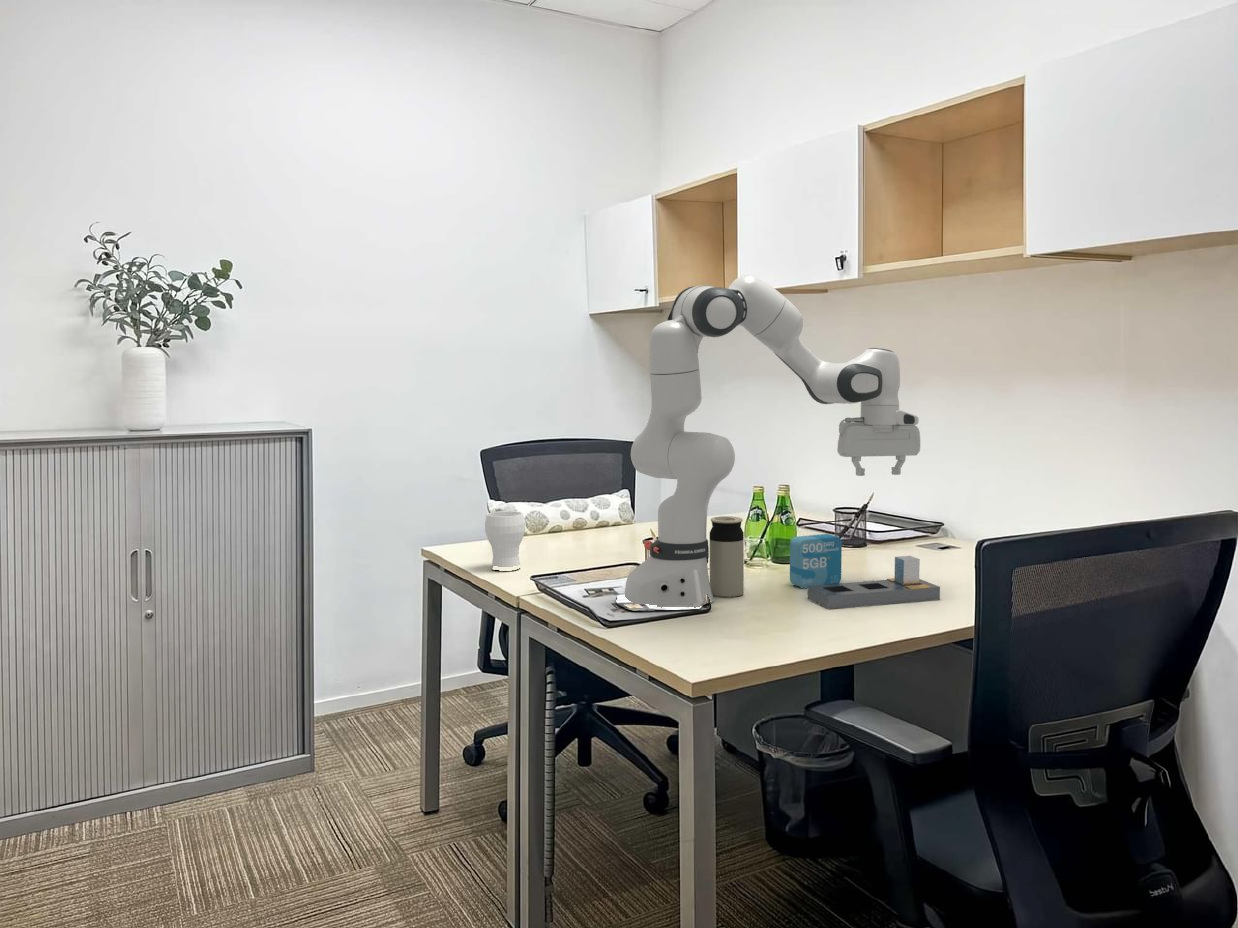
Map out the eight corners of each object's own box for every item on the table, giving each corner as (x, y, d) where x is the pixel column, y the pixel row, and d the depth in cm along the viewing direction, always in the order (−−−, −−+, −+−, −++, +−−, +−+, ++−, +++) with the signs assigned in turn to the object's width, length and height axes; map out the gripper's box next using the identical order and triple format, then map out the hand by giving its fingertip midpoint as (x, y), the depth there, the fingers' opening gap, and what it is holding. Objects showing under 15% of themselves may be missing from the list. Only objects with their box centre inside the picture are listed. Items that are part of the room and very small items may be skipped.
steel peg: (903, 598, 217) (903, 560, 216) (894, 594, 221) (894, 556, 220) (918, 597, 218) (919, 559, 217) (909, 593, 222) (910, 555, 221)
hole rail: (827, 609, 209) (828, 594, 208) (807, 598, 218) (807, 584, 218) (939, 599, 216) (940, 585, 216) (915, 589, 226) (915, 576, 225)
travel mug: (717, 599, 219) (716, 522, 217) (704, 591, 227) (704, 517, 225) (748, 596, 221) (749, 520, 219) (735, 588, 229) (735, 515, 227)
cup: (530, 571, 251) (529, 515, 250) (491, 574, 248) (490, 518, 246) (519, 563, 261) (518, 509, 260) (482, 566, 257) (480, 512, 256)
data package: (798, 589, 228) (799, 540, 227) (789, 585, 232) (789, 536, 231) (841, 584, 232) (842, 536, 231) (831, 580, 236) (831, 533, 235)
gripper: (845, 418, 219) (844, 477, 221) (924, 417, 224) (923, 475, 225) (833, 417, 225) (832, 474, 227) (910, 416, 230) (908, 472, 232)
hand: (878, 475), depth 226 cm, fingers open, 8 cm apart
